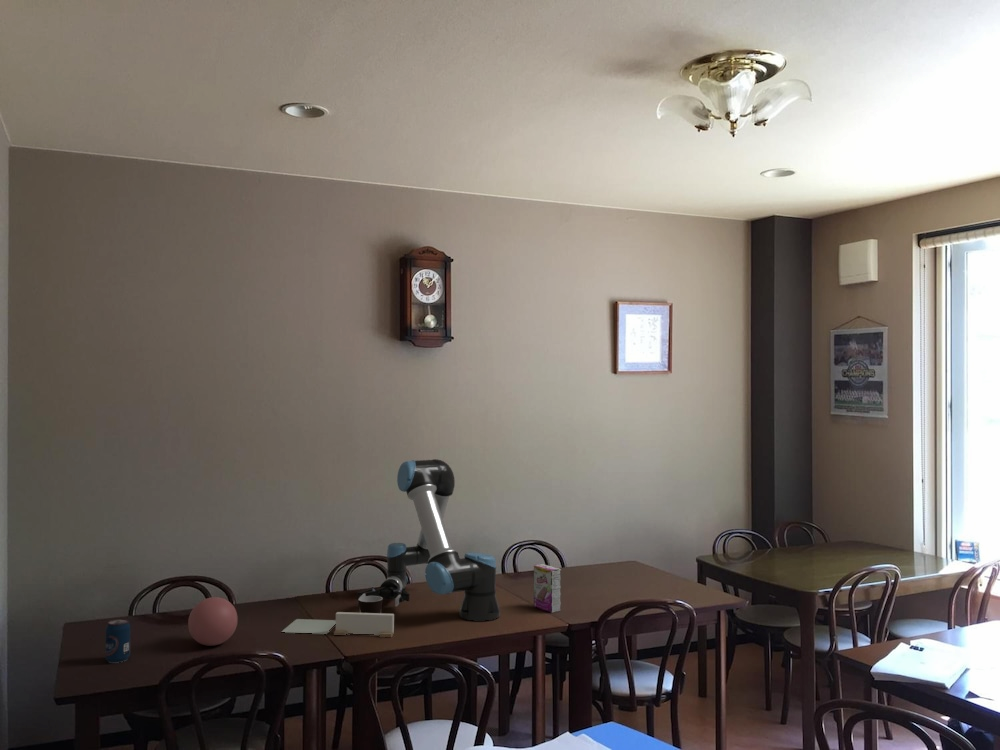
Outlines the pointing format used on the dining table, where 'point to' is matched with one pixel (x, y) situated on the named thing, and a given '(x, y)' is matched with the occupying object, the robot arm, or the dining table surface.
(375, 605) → the coffee mug
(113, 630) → the soda can
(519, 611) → the dining table surface
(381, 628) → the white rectangular block
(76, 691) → the dining table surface
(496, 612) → the robot arm
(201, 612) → the balloon
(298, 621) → the mat
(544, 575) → the candy bar box
